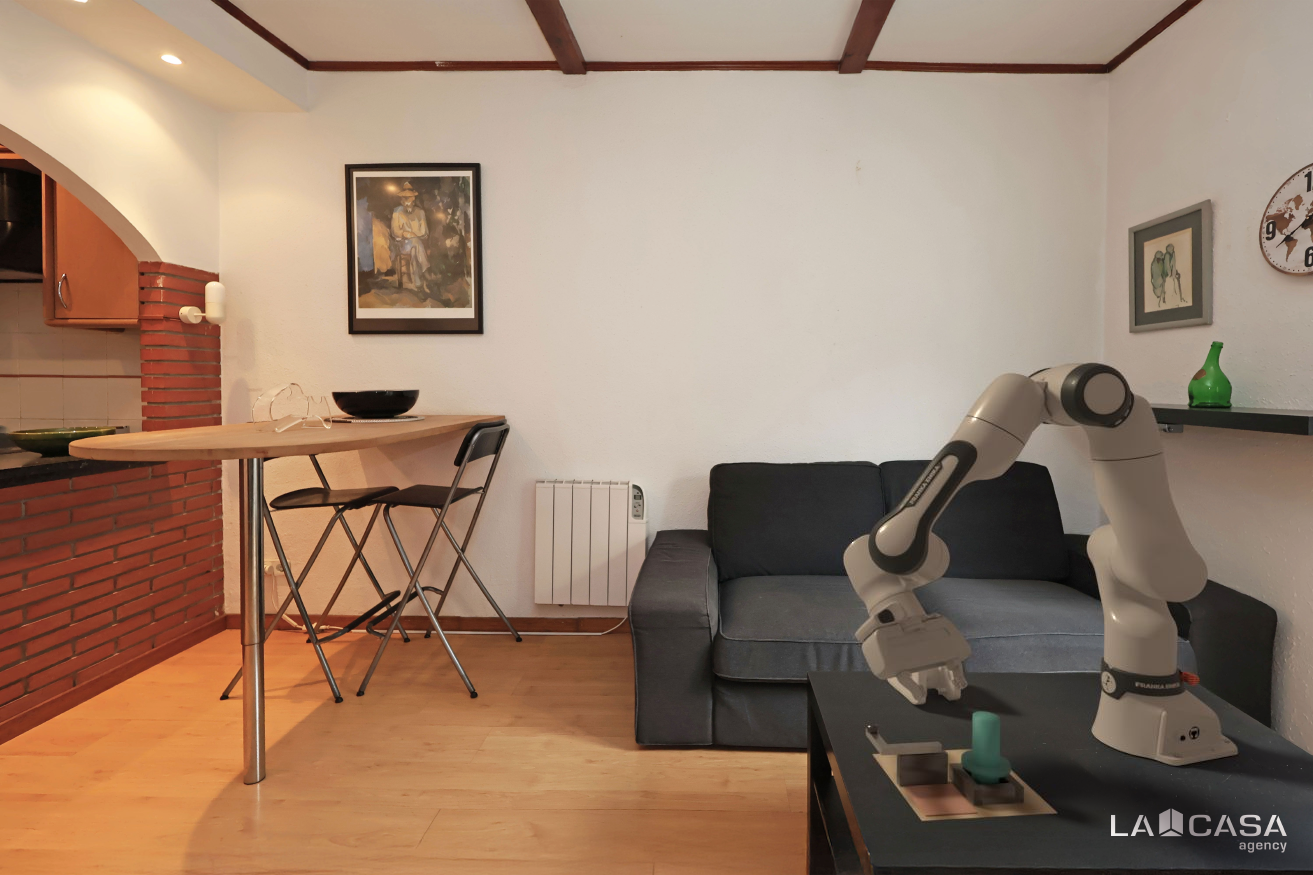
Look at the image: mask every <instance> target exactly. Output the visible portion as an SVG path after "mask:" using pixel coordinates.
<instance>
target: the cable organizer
mask: <svg viewBox="0 0 1313 875" xmlns="http://www.w3.org/2000/svg"><path fill="white" fill-rule="evenodd" d="M911 675H912V676H911V678H912V679H913V680H914V681H915V682H916V683H917V684H918V685H923V687H924V690H925V691H926V692H927V693H928V689H935V690H937V692H938V693H937V695H938V696H939V695H941V696H943V697H944V698H945V699H947V700H948V701H956V700H959V699H960V698H961V692H962V691H961V690H962V689H959V690H956V689H955V687H954V685H953V684H952V682H951V681H952V680H953V679H954V678H953V672H952V671H949V669H948V668H947V666H942V667H938V668H933V669H929V670H925V671H920V672H916V673H911ZM886 680H887V681H888V683H889V684H890V685H891V687H893V688H894V689H895V690H896V691H898V692H899V693H900V694H901V695H903V696H904V697H905V698H906V700H908V701H909V702H910V703H911V704H913V705H924V704H925V703H926V700H927V696H926V697H924V698H923V699H919V700H915V699H914V697H913V695H912V694H911V692H910V691H909V690H908V689H906V688H905V687H904V686H903V685H901V684H900V683H899V681H898V680H897V678H896V677H894V678H889V679H886Z"/></svg>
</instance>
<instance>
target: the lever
mask: <svg viewBox="0 0 1313 875" xmlns="http://www.w3.org/2000/svg"><path fill="white" fill-rule="evenodd" d="M865 736H866V737H867V739H868V740H869V741H870V743H871V744H872V745H873V746H874V748H875V749H876V750H877V751H878V754H881V756H882V755H901V754H921V753H941V752H942V750H943V745H942V744H941V742H939V741H926V742H925V741H924V742H922V741H921V742H906V743H905V742H904V743H887V742H886V741H885V740H884V738H883V737H882V736H881V735H880V733H879V724H877V723H874V722H869V723H866V727H865Z"/></svg>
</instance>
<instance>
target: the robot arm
mask: <svg viewBox="0 0 1313 875" xmlns="http://www.w3.org/2000/svg"><path fill="white" fill-rule="evenodd" d="M1042 424H1043V425H1055V426H1059V427H1077V426H1080V427H1081V428H1082V429H1083V431H1084V433H1085V434H1086V436H1087V438H1088V441H1089V443H1088V444H1089V452H1090V453H1089V454H1090V461H1091V466H1092V473H1093V474H1092V475H1093V480H1094V488H1095V493H1096V498H1097V501H1098V504H1099V505H1100V507H1101V508H1102V509H1103V511H1104V512H1105V515H1106V516H1107V518H1108V521H1109V523H1108V524H1104V525H1101V526H1100V527H1097V528H1096V529H1095V530H1093V532H1092V533H1091V534H1090V536H1089V537H1088V540H1087V544H1086V552H1087V555H1088V558H1089V560H1090V562H1091V564H1092V566H1093V568H1094V572H1095V577H1096V581H1097V585H1098V591H1099V596H1100V600H1101V606H1102V611H1103V622H1104V626H1103V628H1104V633H1103V656H1102V658H1101V659H1100V674H1099V675H1100V677H1099V678H1100V685H1101V692H1100V693H1101V694H1100V699H1099V704H1098V708H1097V709H1098V710H1097V712H1096V717H1095V720H1094V722H1093V724H1092V727H1091V733H1092V734H1093V736H1094V737H1095V738H1096V739H1097V740H1099V741H1100V742H1102V743H1103V744H1105V745H1106V746H1109V747H1111V748H1112V749H1115V750H1117V751H1120V752H1122V753H1127V754H1130V755H1134V756H1138V757H1143V758H1148V759H1152V760H1156V761H1158V762H1162V763H1163V764H1166V765H1170V766H1178V767H1179V766H1183V765H1189V764H1194V763H1200V762H1204V761H1210V760H1215V759H1220V758H1224V757H1229V756H1236V755H1238V754H1239V750H1238V747H1237V745H1236V744H1235V743H1234V742H1233V741H1232V739H1229V738H1228V737H1226V736H1225V735H1224V734H1222V728H1221V723H1220V720H1219V717H1218V715H1217V713H1216V712H1215V711H1214V710H1213V709H1212V708H1211V707H1210V706H1208V705H1207V704H1205V702H1203V701H1202V700H1200V699H1199V698H1198V697H1196V696H1195V695H1194V694H1192V693H1191V692H1190V691H1189V690H1187V689H1186V686H1185V684H1184V683H1187V684H1188V685H1190V686H1193V687H1195V686H1197V685H1198V684H1199V683H1200V677H1199V676H1198V675H1197V674H1195V673H1192V671H1182V670H1181V669H1180V668H1178V667H1177V663H1178V662H1177V658H1178V655H1177V654H1178V627H1177V624H1176V621H1175V620H1174V618H1173V616H1172V614H1171V612H1170V610H1169V607H1168V606H1169V605H1168V603H1167V602H1171V603H1181V602H1187V601H1190V600H1192V599H1194V598H1196V597H1197V596H1198V595H1199V594H1200V593H1201V592H1203V589H1204V588H1205V586H1206V584H1207V581H1208V578H1209V572H1208V566H1207V563H1206V561H1205V559H1204V558H1203V557H1202V556H1201V555H1200V554H1199V553H1198V551H1197V550H1196V549H1195V547H1194V546H1193V544H1192V543H1191V540H1190V538H1189V536H1188V535H1187V534H1188V533H1186V529H1185V528H1184V525H1183V523H1182V521H1181V518H1180V516H1179V512H1178V511H1177V508H1176V507H1175V506H1176V505H1175V504H1174V503H1175V502H1174V500H1173V497H1172V494H1171V489H1170V485H1169V479H1168V473H1167V466H1166V461H1165V454H1164V453H1165V452H1164V447H1163V442H1162V441H1163V440H1162V437H1161V433H1160V430H1159V426H1158V422H1157V418H1156V416H1155V414H1154V410H1153V409H1152V406H1151V404H1150V402H1149V401H1148V400H1147V399H1146V398H1145V397H1143V396H1141V395H1138V394H1135V393H1133V391H1132V390H1131V387H1130V385H1129V383H1128V381H1127V380H1126V378H1125V376H1124V375H1123V374H1122V373H1121V372H1120V371H1119V370H1118V369H1116V368H1115V367H1112V366H1110V365H1108V364H1104V363H1098V362H1087V363H1083V362H1082V363H1081V362H1079V363H1075V362H1074V363H1065V364H1062V365H1058V366H1054V367H1046V368H1042V369H1040V370H1037V371H1034V372H1033V373H1031V374H1030V375H1028V376H1026V375H1025V374H1024V375H1023V374H1019V373H1010V372H1009V373H1004V374H1001V375H999V376H997V377H996V378H995V379H994V380H992V382H991V383H990V384H989V385H988V386H987V387H986V388H985V390H983V392H982V393H981V394H980V396H979V397H978V398H977V399H976V401H975V402H974V403H973V405H971V408H970V409H969V411H968V412H967V414H966V415H965V416H964V419H963V420H962V422H961V423H960V424H959V426H958V428H957V429H956V430H955V432H954V434H953V436H951V438H950V439H949V440H948V442H947V443H946V444H945V445H944V446H943V448H941V449H940V450H939V452H937V454H935V456H934V457H933V458H932V460H931V461H930V462H929V464H928V465H927V466H926V468H925V469H924V470H923V472H922V473H921V474H920V476H919V477H918V479H916V481H915V482H914V484H913V485H912V487H910V489H909V491H908V492H907V493H906V495H905V496H904V497H903V499H902V500H901V502H899V504H898V505H897V506H896V507H895V508H894V509H892V511H890V512H889V513H887V514H886V515H884V516H883V517H882V518H880V519H879V520H878V521H877V522H876V523H875V524H874V526H873V527H872V530H870V533H869V534H864V535H862V536H859V537H857V538H855V539H854V540H853V541H852V542H851V543H849V545H848V546H847V547H846V549H845V550H844V553H843V565H844V568H845V570H846V574H847V576H848V578H849V581H850V583H851V584H852V587H853V589H854V590H855V592H856V595H857V596H858V597H859V598H860V599H861V600H862V602H864V604H865V606H866V611H867V614H868V616H869V618H868V619H867V620H866V621H865V622H863V623H862V625H860V627H859V628H858V629H857V630H856V632H854V633H855V634H854V635H855V638H856V639H857V641H858V642H859V643H860V644H861V643H862V645H861V650H862V653H863V656H864V659H865V661H866V663H867V664H868V666H869V668H870V669H871V672H872V674H873V675H874V676H875V677H877V678H879V679H880V680H882V681H884V680H887V679H889V678H894V677H896V678H897V680H898V681H899V683H900V684H901V685H903V686H904V687H905V688H906V689H908V690H909V691H910V692H911V694H912V695H913V697H914V699H915V700H919V699H923V698H924V697H926V698H927V697H928V691H927V692H926V691H925V690H924V687H923V685H918V684H917V683H916V682H915V681H914V680H913V679H912V678H911V676H912V675H911V673H916V672H920V671H925V670H929V669H933V668H938V667H942V666H947V668H948V669H949V671H952V672H953V678H954V679H953V680H952V681H951V682H952V684H953V685H954V687H955V689H956V690H959V689H961V690H964V689H965V688H966V687H967V686H969V685H968V684H969V683H968V681H967V679H966V678H965V676H964V670H963V669H964V668H963V663H962V662H963V661H965V660H966V659H967V658H969V657H970V656H971V655H972V648H971V646H970V644H969V643H968V641H967V640H966V638H964V635H962V633H961V632H960V630H958V628H957V627H956V625H955V624H954V623H952V621H951V620H949V618H947V617H946V616H944V615H942V614H939V613H938V612H933V613H930V614H927V613H926V611H925V610H924V607H922V604H921V603H920V602H919V600H918V598H917V597H916V594H915V593H914V591H913V590H915V589H919V588H921V587H924V586H926V585H929V584H932V583H934V582H936V581H938V580H940V579H941V578H942V577H943V576H945V575H946V573H947V571H948V569H949V567H950V564H951V552H950V549H949V547H948V546H947V544H946V543H945V540H943V539H942V538H941V537H939V536H938V535H936V534H935V533H934V532H932V529H933V526H934V524H935V523H936V522H937V520H938V518H939V517H940V516H941V514H942V513H943V512H944V510H946V507H947V506H948V505H949V503H950V502H951V500H952V499H953V498H954V497H955V495H956V494H957V493H958V491H959V490H960V489H962V488H963V487H964V486H965V485H967V484H969V483H971V482H974V481H985V480H992V479H995V478H998V477H1001V476H1003V474H1005V473H1006V472H1007V471H1008V470H1009V469H1010V467H1011V466H1012V465H1013V464H1014V463H1015V462H1016V461H1017V460H1018V458H1019V456H1020V455H1021V453H1022V451H1023V450H1024V448H1025V447H1026V445H1027V443H1028V442H1029V440H1030V438H1031V436H1032V434H1033V432H1034V431H1035V430H1036V429H1037V428H1038V427H1039V426H1040V425H1042Z"/></svg>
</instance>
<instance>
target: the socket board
mask: <svg viewBox="0 0 1313 875" xmlns="http://www.w3.org/2000/svg"><path fill="white" fill-rule="evenodd" d="M970 750H972V748H970V749H969V748H968V749H967V748H966V749H949V750H948V749H947V750H944V749H942V752H941V753H921V754H901V755H882V756H881V754H880V753H872V756H873V758H875V760H876V761H877V763H878V764H879V765H880V767H881V768H882V769H883V771H884V772H885V773H886V775H887V776H888V777H889V779H890V780H891V782H892V783H893V784H894V785H895V787H896V788H897V789H898V791H899V792H900V794H902V796H903V798H904V799H905V800H906V801H907V803H908V804H909V806H910V807H911V808H912V811H914V813H915V814H916V816H918V818H919V819H920V820H921V821H922V822H930V821H932V822H933V821H946V820H947V821H948V820H962V819H963V820H964V819H965V820H967V819H981V818H997V817H998V818H999V817H1012V816H1013V817H1014V816H1016V817H1017V816H1032V815H1051V814H1058V811H1056V810H1055V809H1054V807H1052V806H1050V804H1049V803H1048V802H1046V800H1044V799H1043V798H1042V797H1041V796H1040V795H1039V794H1038V793H1037V792H1036V791H1035V790H1034V789H1032V787H1030V786H1029V785H1028V784H1027V783H1026V782H1025V781H1023V779H1021V778H1020V777H1019V776H1018V775H1017V774H1016V773H1015V772H1014V771H1013V770H1012V769H1011V772H1010V774H1009V775H1007V776H1005V777H1001V778H999V784H981V785H978V784H977V783H976V782H975V781H974V780H973V779H972V772H970V771H968V770H967V769H965V768H964V767H963V766H962V764H961V755H962V754H963V753H964V752H966V751H970Z"/></svg>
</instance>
